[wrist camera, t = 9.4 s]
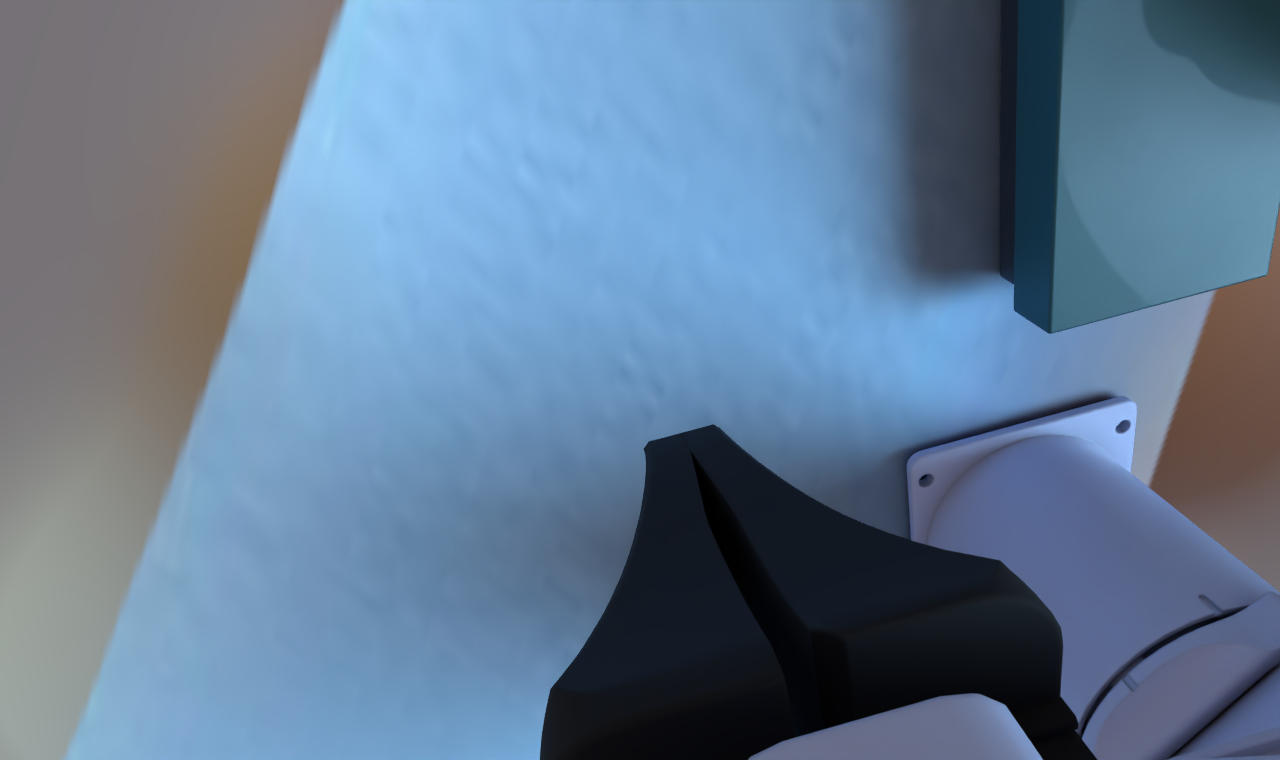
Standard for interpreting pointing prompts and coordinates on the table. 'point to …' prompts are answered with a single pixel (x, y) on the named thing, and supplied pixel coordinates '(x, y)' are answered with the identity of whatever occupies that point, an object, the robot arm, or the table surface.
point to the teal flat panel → (1135, 152)
